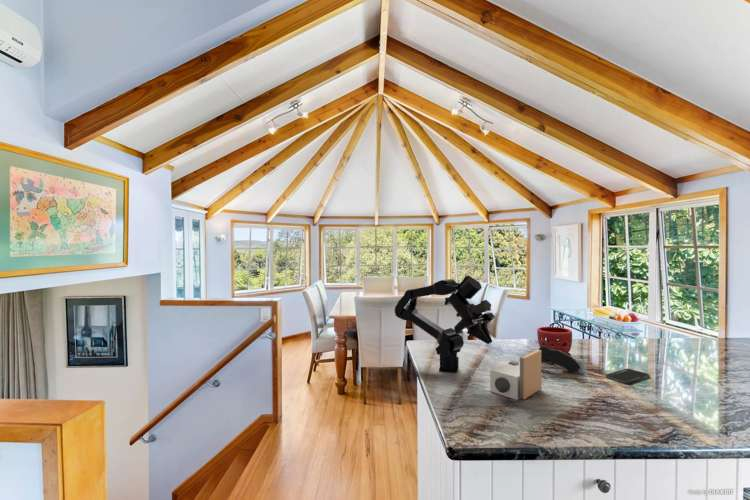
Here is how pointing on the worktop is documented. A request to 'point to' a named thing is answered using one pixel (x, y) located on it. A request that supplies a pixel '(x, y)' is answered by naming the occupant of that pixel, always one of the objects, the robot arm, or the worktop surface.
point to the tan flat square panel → (530, 374)
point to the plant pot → (555, 338)
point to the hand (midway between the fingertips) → (490, 342)
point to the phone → (627, 376)
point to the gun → (559, 359)
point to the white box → (506, 379)
